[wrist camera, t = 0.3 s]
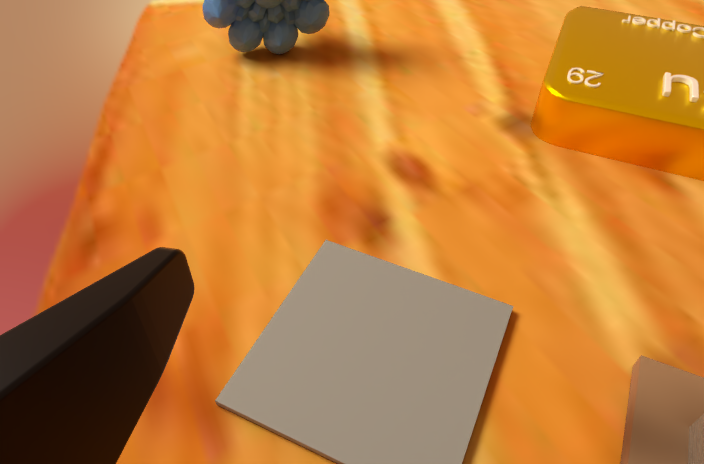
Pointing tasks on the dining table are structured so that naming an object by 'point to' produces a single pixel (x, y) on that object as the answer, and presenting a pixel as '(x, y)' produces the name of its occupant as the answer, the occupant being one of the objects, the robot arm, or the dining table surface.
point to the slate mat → (371, 363)
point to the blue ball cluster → (266, 21)
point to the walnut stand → (660, 413)
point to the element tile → (626, 91)
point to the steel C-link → (696, 442)
